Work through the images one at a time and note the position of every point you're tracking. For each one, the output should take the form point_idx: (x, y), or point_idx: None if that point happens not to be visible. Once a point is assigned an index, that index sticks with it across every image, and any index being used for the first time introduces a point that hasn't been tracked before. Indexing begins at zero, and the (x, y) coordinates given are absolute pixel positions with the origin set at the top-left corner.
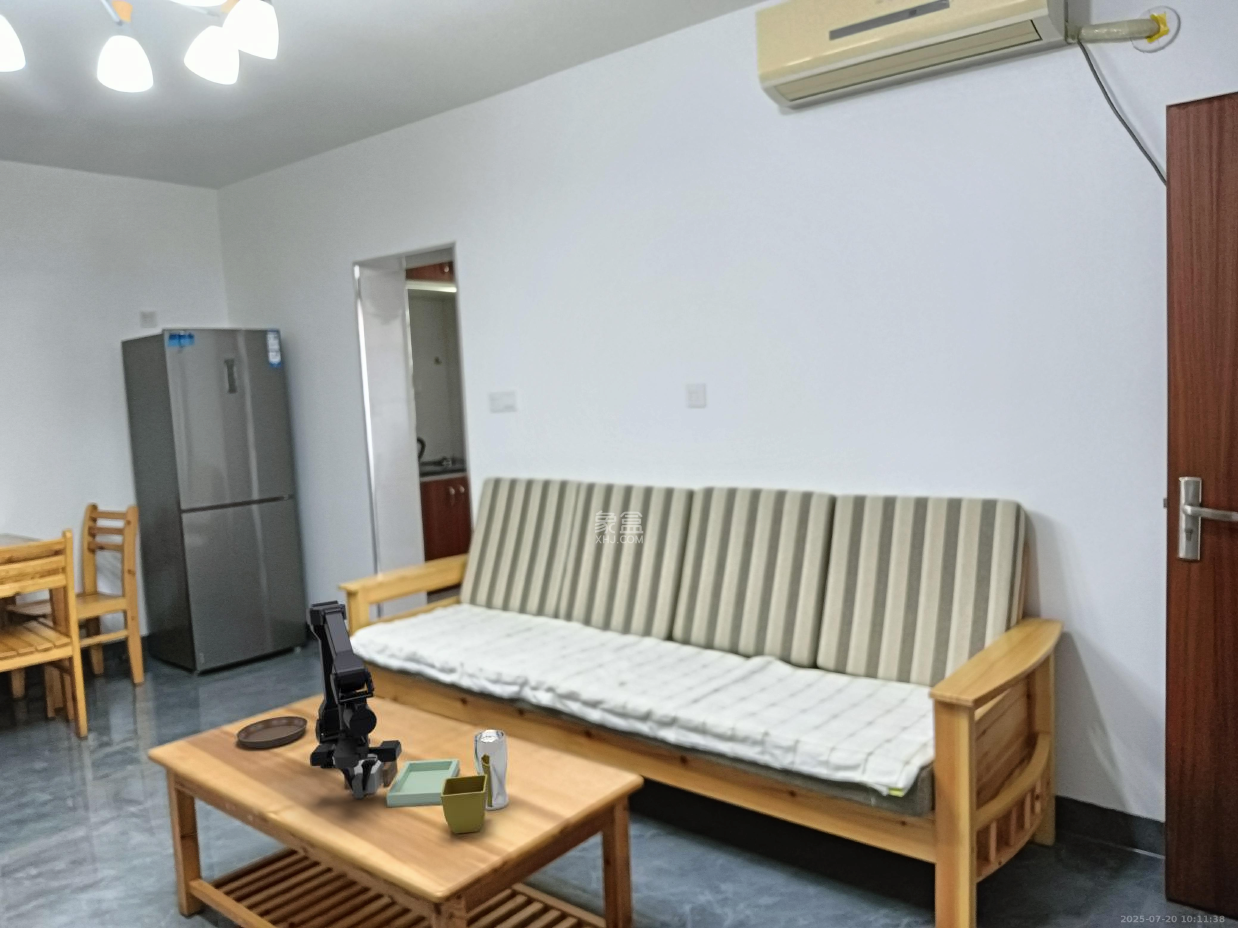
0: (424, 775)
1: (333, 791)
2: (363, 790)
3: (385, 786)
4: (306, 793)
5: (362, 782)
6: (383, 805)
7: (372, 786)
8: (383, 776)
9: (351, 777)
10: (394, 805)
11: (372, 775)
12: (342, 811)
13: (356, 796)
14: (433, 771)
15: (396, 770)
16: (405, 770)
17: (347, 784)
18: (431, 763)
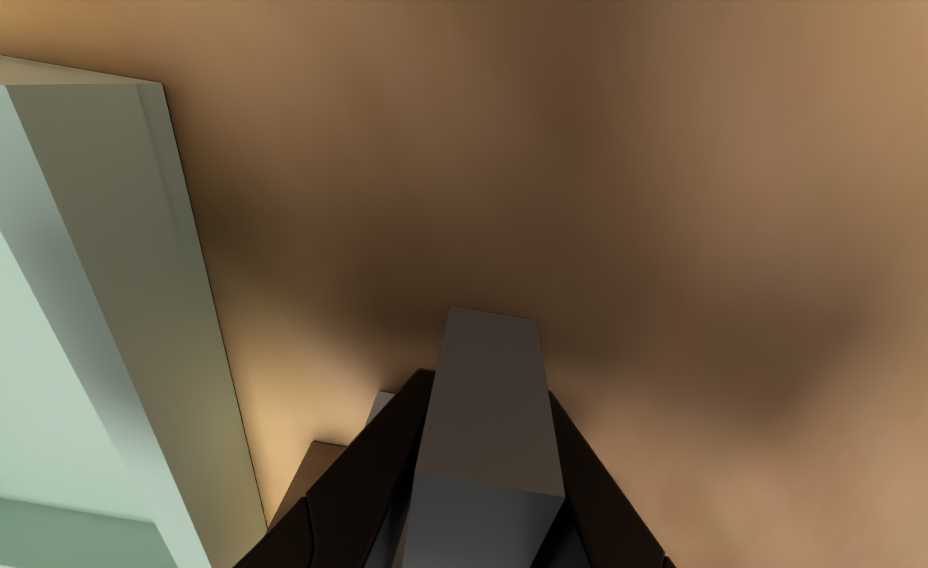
0: (116, 482)
1: (678, 481)
2: (434, 370)
3: (334, 445)
4: (864, 507)
5: (416, 442)
6: (224, 138)
7: None
8: None
9: (576, 559)
10: (73, 70)
11: None
12: (651, 111)
13: (507, 325)
14: (92, 504)
15: None
16: (167, 540)
17: None
18: (67, 561)
